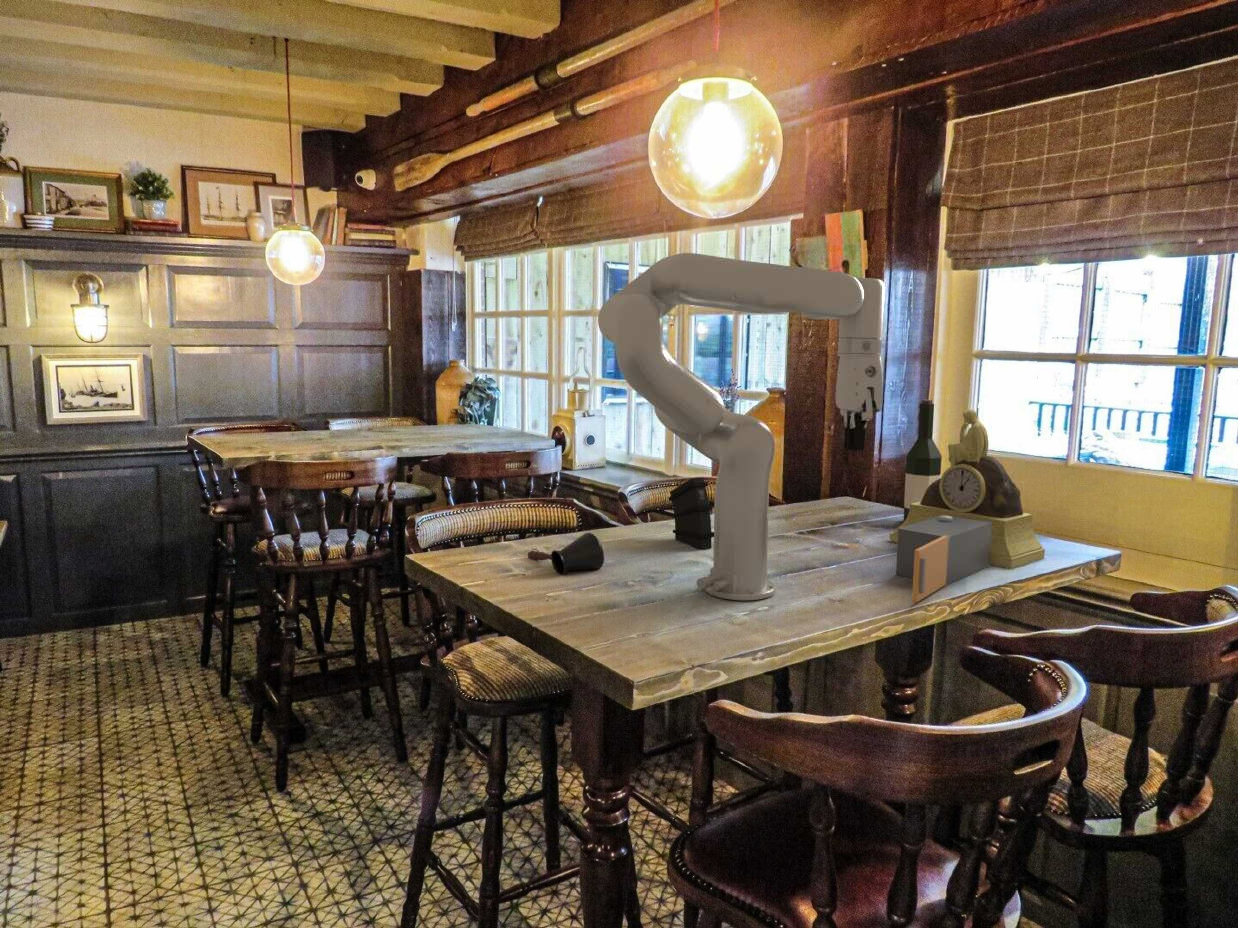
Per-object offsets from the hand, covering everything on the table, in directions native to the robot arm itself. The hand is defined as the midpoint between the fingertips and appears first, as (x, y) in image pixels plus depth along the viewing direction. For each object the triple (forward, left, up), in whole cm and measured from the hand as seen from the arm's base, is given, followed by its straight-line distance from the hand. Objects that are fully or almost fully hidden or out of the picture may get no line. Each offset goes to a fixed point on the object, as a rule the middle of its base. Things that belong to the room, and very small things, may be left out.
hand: (853, 449), depth 157 cm
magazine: (0, +40, -25) cm, 47 cm away
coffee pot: (-32, +46, -25) cm, 61 cm away
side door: (+3, -15, -24) cm, 29 cm away
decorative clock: (+38, -4, -25) cm, 46 cm away
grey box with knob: (+20, -9, -25) cm, 33 cm away
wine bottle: (+54, +14, -25) cm, 61 cm away
